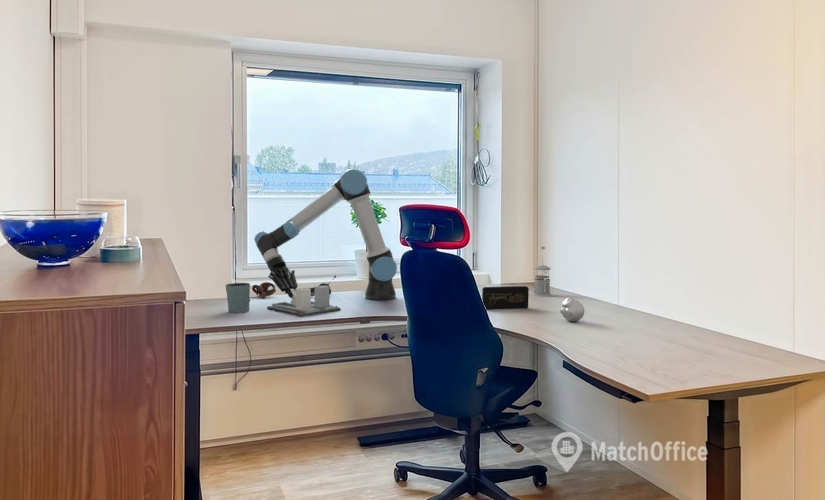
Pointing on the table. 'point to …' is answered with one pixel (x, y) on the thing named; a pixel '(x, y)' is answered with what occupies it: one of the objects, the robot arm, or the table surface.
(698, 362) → the table surface
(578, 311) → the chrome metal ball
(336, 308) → the grey board
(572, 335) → the table surface
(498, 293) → the nameplate
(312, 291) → the headset
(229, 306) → the green tapered cup
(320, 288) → the block
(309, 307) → the white fader
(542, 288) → the french press
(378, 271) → the robot arm
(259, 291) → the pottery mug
